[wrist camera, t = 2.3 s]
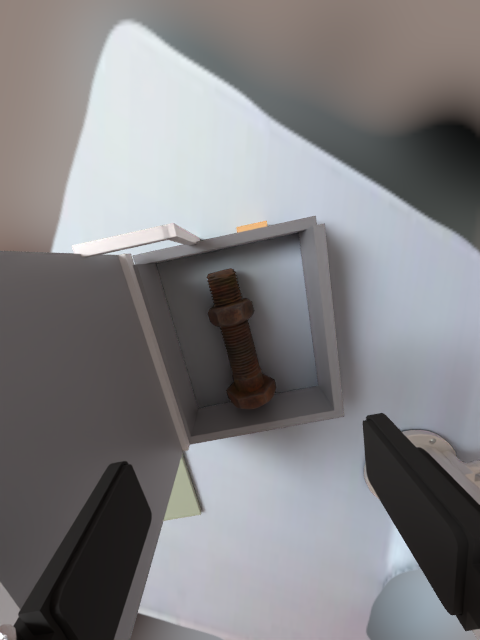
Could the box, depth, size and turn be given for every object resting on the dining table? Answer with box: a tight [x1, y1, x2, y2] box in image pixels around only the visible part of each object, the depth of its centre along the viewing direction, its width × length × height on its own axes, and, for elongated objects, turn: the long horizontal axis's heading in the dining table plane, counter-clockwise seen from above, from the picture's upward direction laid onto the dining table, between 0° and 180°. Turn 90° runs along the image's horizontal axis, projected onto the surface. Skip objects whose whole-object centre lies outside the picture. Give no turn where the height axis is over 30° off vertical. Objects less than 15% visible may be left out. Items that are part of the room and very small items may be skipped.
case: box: [0, 216, 344, 640], centre depth 17 cm, size 19×22×21 cm
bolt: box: [207, 268, 276, 409], centre depth 26 cm, size 6×5×15 cm
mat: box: [163, 454, 201, 521], centre depth 33 cm, size 16×16×1 cm
